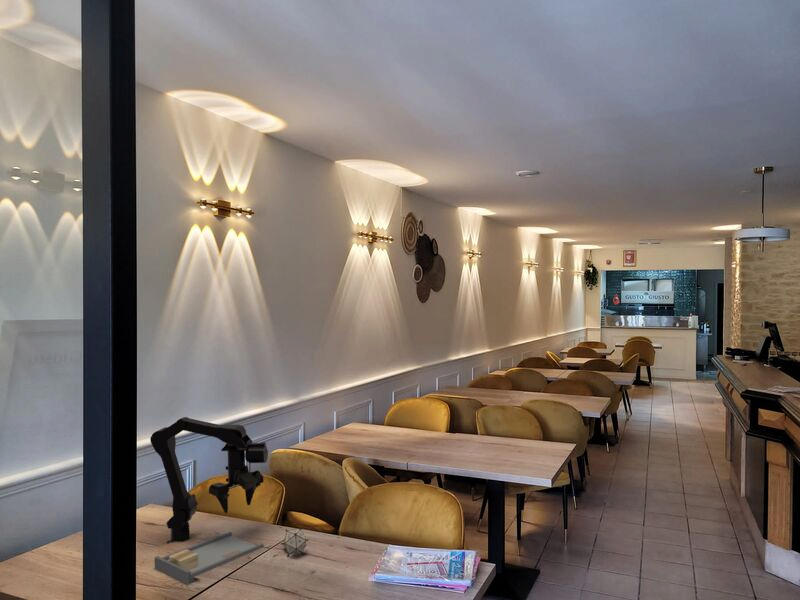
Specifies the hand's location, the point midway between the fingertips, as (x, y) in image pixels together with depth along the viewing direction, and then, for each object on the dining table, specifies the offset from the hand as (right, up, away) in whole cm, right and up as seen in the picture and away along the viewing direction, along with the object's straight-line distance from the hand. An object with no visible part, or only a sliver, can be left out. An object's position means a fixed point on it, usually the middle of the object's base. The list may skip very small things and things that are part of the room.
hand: (237, 508), depth 201 cm
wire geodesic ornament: (+22, -11, -12) cm, 27 cm away
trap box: (-4, -11, -14) cm, 18 cm away
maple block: (-10, -10, -22) cm, 26 cm away
